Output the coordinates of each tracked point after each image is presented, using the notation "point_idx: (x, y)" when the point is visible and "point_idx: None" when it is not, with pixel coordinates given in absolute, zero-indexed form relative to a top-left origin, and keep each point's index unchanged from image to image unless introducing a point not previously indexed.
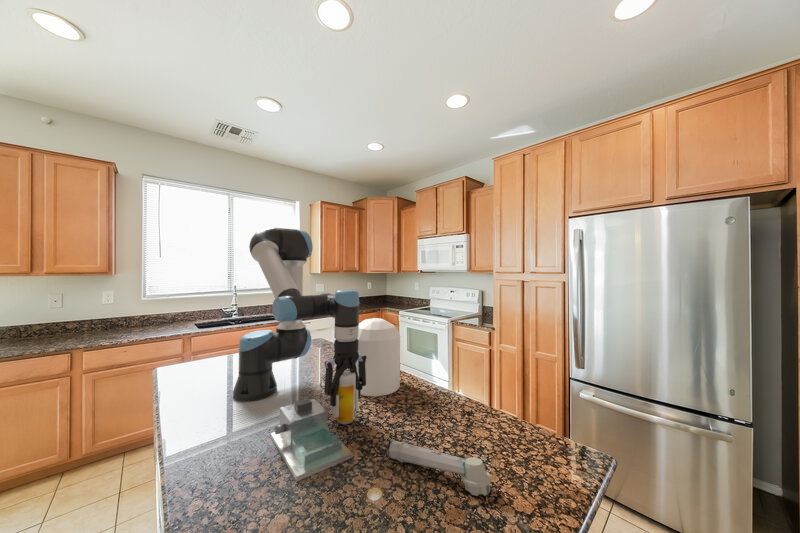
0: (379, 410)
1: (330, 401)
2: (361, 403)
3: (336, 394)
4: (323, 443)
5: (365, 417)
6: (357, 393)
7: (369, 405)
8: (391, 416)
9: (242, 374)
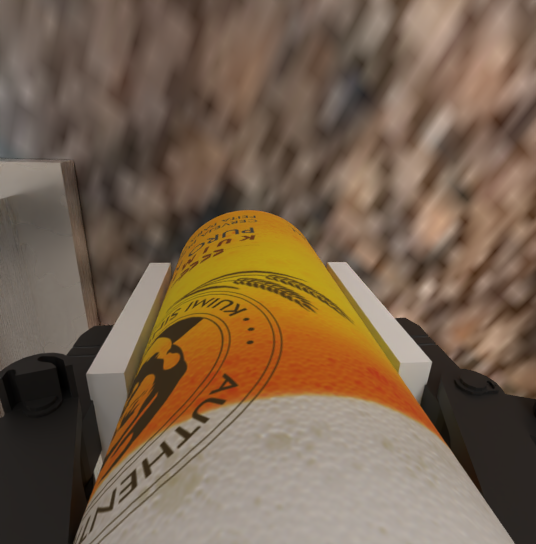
0: (493, 276)
1: (72, 352)
2: (495, 94)
3: (94, 485)
4: None
5: None
6: None
7: (507, 170)
8: (481, 370)
9: None
